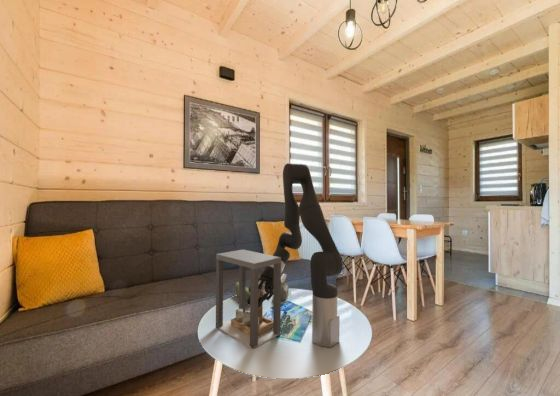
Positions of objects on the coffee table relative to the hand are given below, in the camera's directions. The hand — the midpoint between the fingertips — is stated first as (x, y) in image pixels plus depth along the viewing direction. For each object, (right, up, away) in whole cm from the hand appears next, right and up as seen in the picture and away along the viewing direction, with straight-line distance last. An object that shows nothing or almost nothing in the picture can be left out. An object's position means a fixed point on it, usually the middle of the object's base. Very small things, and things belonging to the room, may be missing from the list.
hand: (252, 305), depth 112 cm
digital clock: (+11, -10, +36) cm, 39 cm away
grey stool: (-2, -9, -2) cm, 10 cm away
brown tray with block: (0, -9, 0) cm, 9 cm away
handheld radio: (-6, -10, +29) cm, 32 cm away
